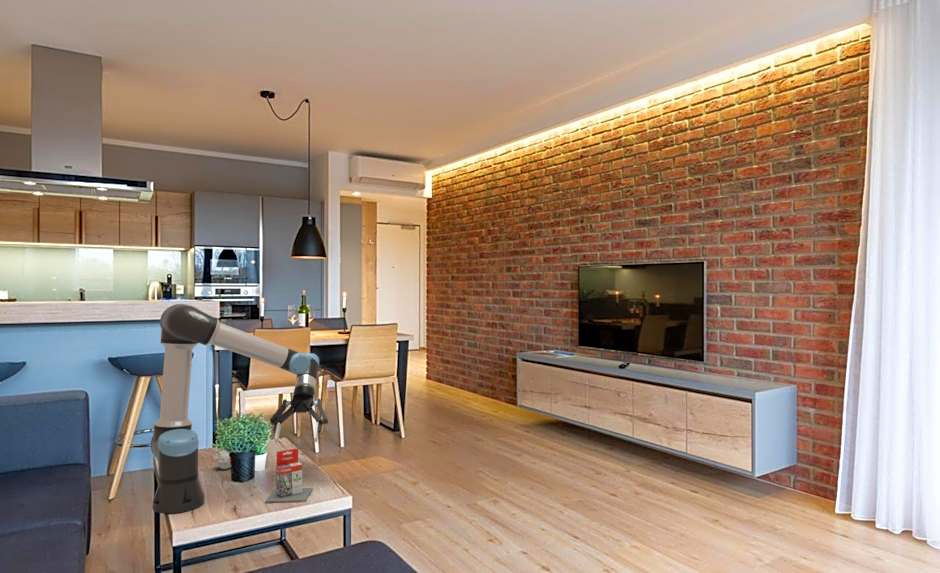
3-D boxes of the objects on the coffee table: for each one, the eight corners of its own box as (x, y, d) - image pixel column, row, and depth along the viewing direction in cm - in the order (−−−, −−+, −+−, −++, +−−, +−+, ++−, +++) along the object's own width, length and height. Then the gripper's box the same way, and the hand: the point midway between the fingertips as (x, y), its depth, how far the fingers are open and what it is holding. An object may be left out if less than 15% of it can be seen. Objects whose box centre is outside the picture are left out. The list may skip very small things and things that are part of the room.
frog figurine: (220, 466, 237) (219, 448, 237) (237, 466, 236) (236, 449, 236) (211, 471, 231) (211, 453, 231) (229, 471, 230) (229, 453, 230)
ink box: (302, 493, 204) (302, 450, 204) (279, 498, 200) (279, 454, 200) (299, 490, 207) (298, 447, 207) (275, 495, 203) (275, 451, 203)
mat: (265, 503, 197) (265, 501, 197) (274, 490, 209) (274, 488, 209) (305, 501, 198) (305, 500, 198) (312, 489, 210) (312, 487, 210)
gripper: (339, 395, 230) (333, 445, 215) (272, 396, 229) (261, 446, 214) (337, 383, 225) (330, 434, 210) (268, 384, 223) (257, 435, 208)
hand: (295, 440), depth 212 cm, fingers open, 13 cm apart
